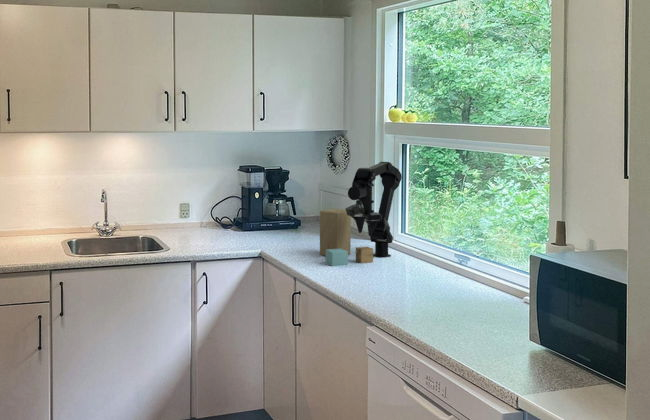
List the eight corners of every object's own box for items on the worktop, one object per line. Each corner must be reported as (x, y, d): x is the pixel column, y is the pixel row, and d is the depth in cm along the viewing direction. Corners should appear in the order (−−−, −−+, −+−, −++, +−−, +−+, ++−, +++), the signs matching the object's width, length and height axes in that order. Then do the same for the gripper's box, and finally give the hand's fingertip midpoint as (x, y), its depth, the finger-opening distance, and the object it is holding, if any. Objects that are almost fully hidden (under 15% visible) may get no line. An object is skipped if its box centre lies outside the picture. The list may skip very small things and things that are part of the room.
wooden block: (333, 252, 368) (333, 208, 365) (350, 254, 362) (351, 210, 359) (319, 255, 360) (319, 210, 358) (336, 258, 354) (337, 212, 351)
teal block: (325, 263, 342) (325, 249, 342) (340, 262, 345) (340, 248, 344) (332, 266, 336) (332, 252, 335) (347, 265, 339) (347, 251, 338)
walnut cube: (355, 261, 347) (355, 247, 346) (367, 260, 349) (367, 246, 349) (361, 263, 342) (361, 249, 341) (373, 262, 344) (373, 248, 344)
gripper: (338, 196, 347) (338, 232, 349) (358, 201, 330) (358, 239, 332) (361, 195, 352) (361, 230, 354) (382, 199, 335) (381, 237, 337)
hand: (365, 234), depth 344 cm, fingers open, 9 cm apart
